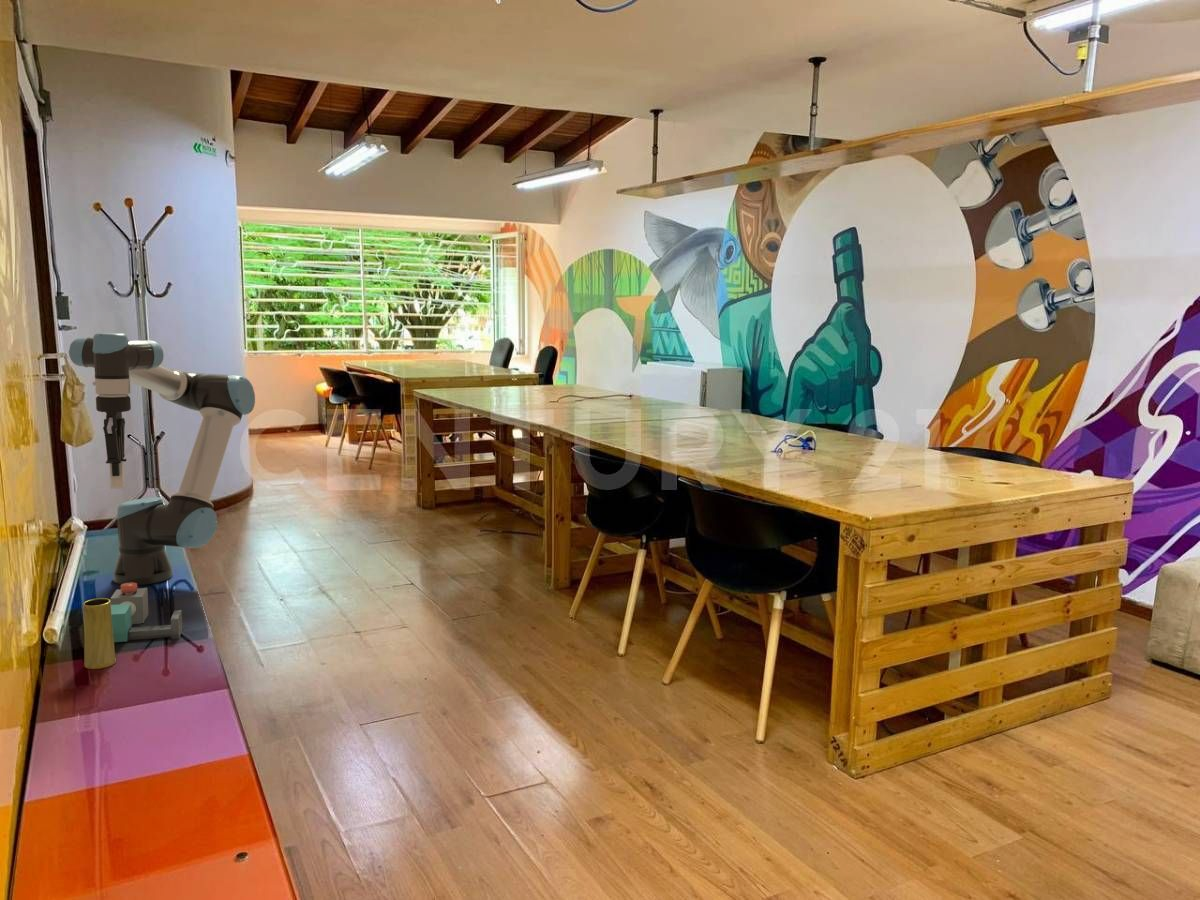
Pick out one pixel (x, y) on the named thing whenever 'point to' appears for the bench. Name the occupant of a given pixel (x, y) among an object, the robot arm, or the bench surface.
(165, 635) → the rail
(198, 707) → the bench surface
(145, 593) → the grey cube housing
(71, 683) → the bench surface
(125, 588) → the red ball knob
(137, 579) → the robot arm
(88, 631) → the vase
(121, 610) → the block
